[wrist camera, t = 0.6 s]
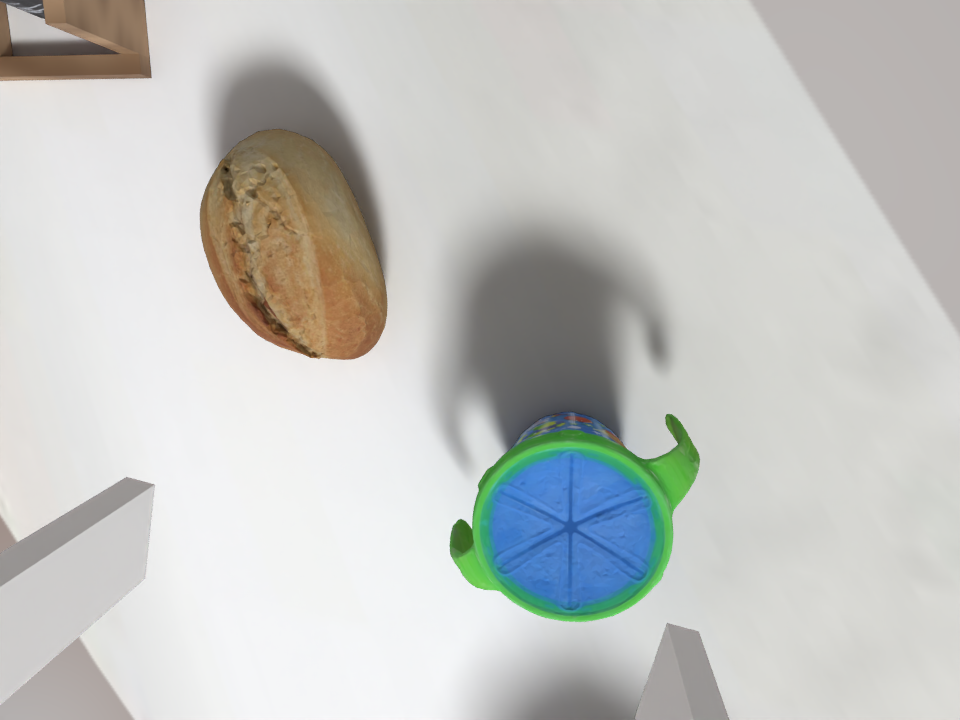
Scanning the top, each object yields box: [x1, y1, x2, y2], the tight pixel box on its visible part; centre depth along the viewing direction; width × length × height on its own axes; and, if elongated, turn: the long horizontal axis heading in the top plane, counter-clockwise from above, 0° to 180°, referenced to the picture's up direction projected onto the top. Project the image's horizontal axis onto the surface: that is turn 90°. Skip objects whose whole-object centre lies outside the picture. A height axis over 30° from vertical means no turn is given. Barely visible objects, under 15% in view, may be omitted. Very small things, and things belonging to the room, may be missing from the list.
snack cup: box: [450, 412, 700, 622], centre depth 37 cm, size 16×11×10 cm
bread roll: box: [200, 129, 387, 360], centre depth 38 cm, size 10×15×8 cm, turn 24°
